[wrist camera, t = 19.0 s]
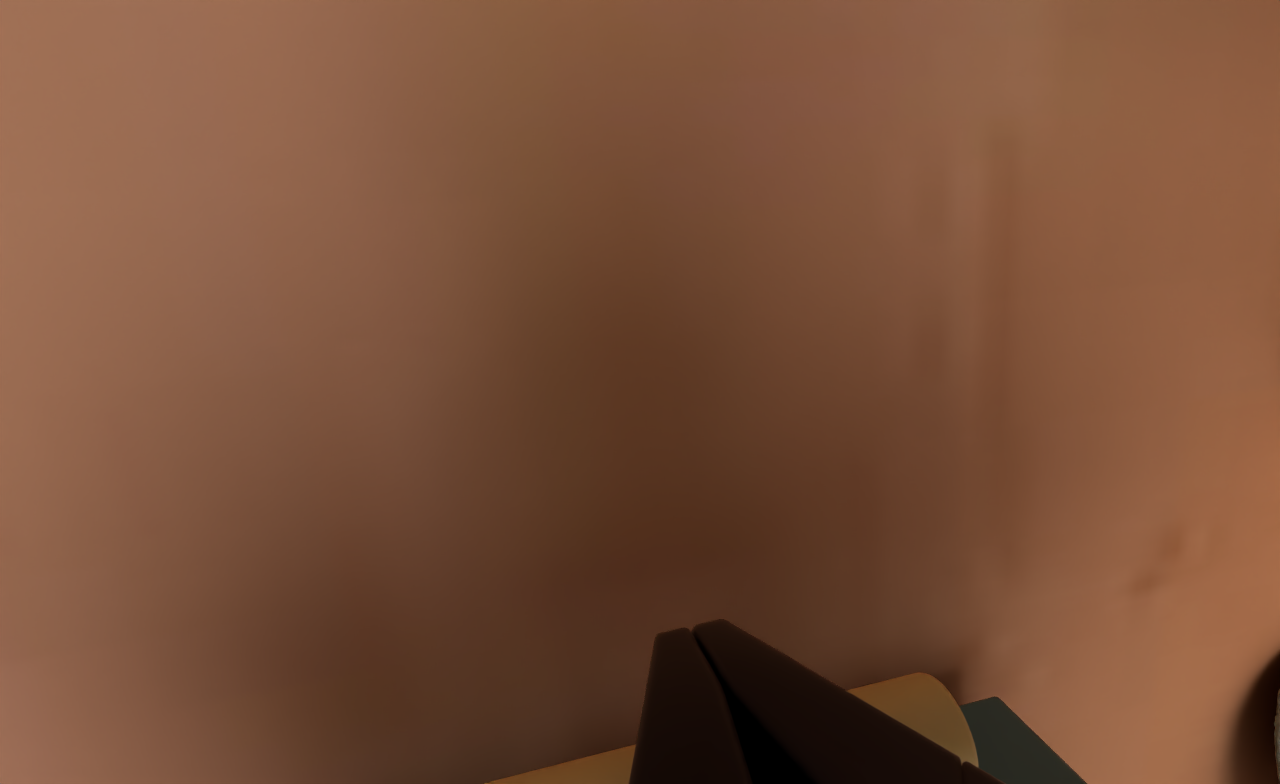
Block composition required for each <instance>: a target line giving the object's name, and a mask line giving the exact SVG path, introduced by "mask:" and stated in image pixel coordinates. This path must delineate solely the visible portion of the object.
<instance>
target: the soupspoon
mask: <svg viewBox="0 0 1280 784" xmlns="http://www.w3.org/2000/svg"><path fill="white" fill-rule="evenodd" d="M1276 713H1277V715H1276V716H1275V722H1274V726H1275V728H1276V729H1275V732H1274V736H1275V743H1274V744H1275V757H1276V763H1277V775H1278V780H1279V784H1280V689H1279V691H1278V697H1277V710H1276Z"/></svg>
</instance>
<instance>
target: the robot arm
mask: <svg viewBox="0 0 1280 784" xmlns="http://www.w3.org/2000/svg"><path fill="white" fill-rule="evenodd" d="M629 784H1006V783H1004V782H1002V781H1000V780H999V779H997V778H995V777H994V776H992V775H990V774H988V773H987V772H985V771H983V770H982V769H980V768H978V767H977V766H975V765H973V764H971V763H970V762H967V761H965V762H963V763H961V759H960V757H959V756H957V755H956V754H954V753H952V752H950V751H949V750H947V749H945V748H944V747H942V746H940V745H938V744H937V743H935V742H933V741H932V740H930V739H928V738H927V737H925V736H923V735H921V734H920V733H918V732H916V731H915V730H913V729H911V728H909V727H908V726H906V725H904V724H903V723H901V722H899V721H898V720H896V719H894V718H892V717H891V716H889V715H887V714H886V713H884V712H882V711H880V710H879V709H877V708H875V707H874V706H872V705H870V704H869V703H867V702H865V701H863V700H862V699H860V698H858V697H857V696H855V695H853V694H851V693H850V692H848V691H846V690H845V689H843V688H841V687H840V686H838V685H836V684H834V683H833V682H831V681H829V680H828V679H826V678H824V677H822V676H821V675H819V674H817V673H816V672H814V671H812V670H810V669H809V668H807V667H805V666H804V665H802V664H800V663H799V662H797V661H795V660H793V659H792V658H790V657H788V656H787V655H785V654H783V653H781V652H780V651H778V650H776V649H775V648H773V647H771V646H770V645H768V644H766V643H764V642H763V641H761V640H759V639H758V638H756V637H754V636H752V635H751V634H749V633H747V632H746V631H744V630H742V629H741V628H739V627H737V626H735V625H734V624H732V623H730V622H729V621H727V620H724V619H719V620H715V621H710V622H706V623H702V624H697V625H695V626H694V627H693V629H692V633H691V631H690V630H689V629H687V628H680V629H675V630H671V631H666V632H662V633H659V634H657V635H656V637H655V641H654V646H653V652H652V657H651V663H650V668H649V674H648V679H647V685H646V690H645V696H644V702H643V707H642V713H641V718H640V724H639V729H638V735H637V740H636V746H635V752H634V757H633V763H632V768H631V774H630V779H629Z"/></svg>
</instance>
